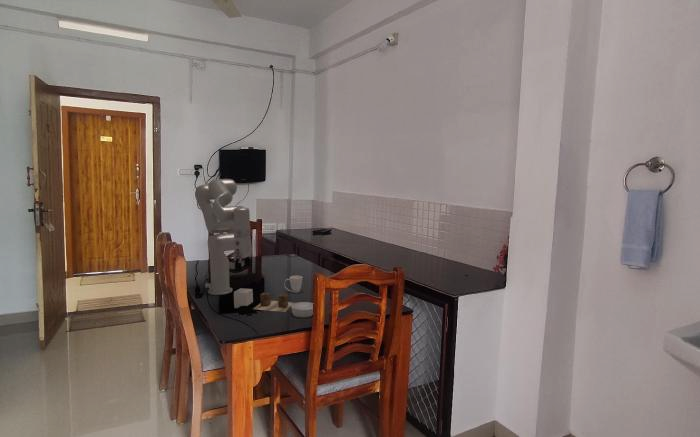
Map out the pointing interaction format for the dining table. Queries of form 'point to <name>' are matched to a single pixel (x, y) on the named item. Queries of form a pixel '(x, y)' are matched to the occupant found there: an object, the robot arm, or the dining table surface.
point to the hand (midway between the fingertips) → (243, 268)
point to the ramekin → (302, 309)
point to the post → (283, 300)
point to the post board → (271, 304)
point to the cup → (295, 283)
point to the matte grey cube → (243, 297)
